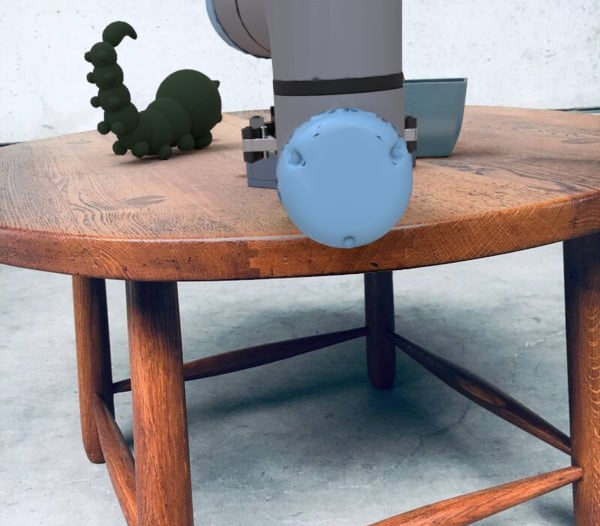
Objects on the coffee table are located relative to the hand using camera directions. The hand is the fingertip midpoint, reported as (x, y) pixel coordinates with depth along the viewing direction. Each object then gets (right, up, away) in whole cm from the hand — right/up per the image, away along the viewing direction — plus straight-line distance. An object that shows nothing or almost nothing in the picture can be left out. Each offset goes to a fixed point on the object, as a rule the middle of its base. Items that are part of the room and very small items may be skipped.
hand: (322, 118), depth 84 cm
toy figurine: (-20, +8, +44) cm, 49 cm away
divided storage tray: (+2, -1, +18) cm, 18 cm away
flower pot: (+14, +4, +30) cm, 33 cm away
